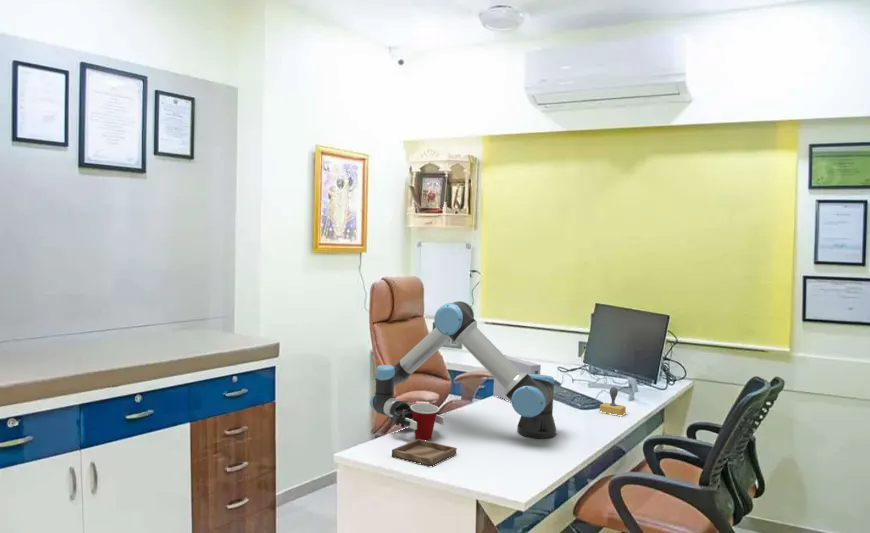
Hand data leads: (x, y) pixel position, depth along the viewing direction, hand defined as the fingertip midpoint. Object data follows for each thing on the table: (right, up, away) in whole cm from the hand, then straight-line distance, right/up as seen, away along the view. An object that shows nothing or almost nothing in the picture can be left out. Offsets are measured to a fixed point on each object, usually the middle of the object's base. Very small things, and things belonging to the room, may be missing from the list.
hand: (430, 423), depth 243 cm
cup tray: (-2, -7, -16) cm, 18 cm away
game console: (+39, -6, +65) cm, 77 cm away
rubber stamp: (+81, -8, +52) cm, 97 cm away
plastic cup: (-3, -7, +3) cm, 8 cm away
